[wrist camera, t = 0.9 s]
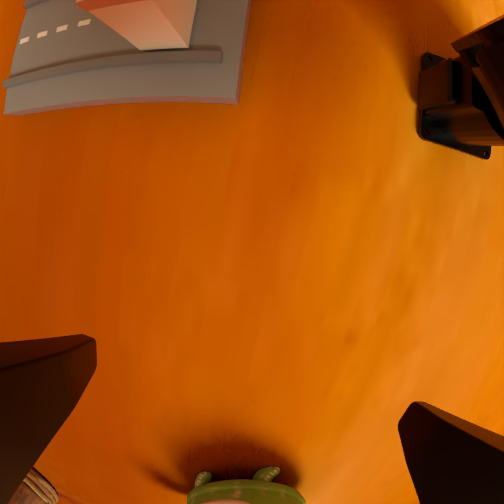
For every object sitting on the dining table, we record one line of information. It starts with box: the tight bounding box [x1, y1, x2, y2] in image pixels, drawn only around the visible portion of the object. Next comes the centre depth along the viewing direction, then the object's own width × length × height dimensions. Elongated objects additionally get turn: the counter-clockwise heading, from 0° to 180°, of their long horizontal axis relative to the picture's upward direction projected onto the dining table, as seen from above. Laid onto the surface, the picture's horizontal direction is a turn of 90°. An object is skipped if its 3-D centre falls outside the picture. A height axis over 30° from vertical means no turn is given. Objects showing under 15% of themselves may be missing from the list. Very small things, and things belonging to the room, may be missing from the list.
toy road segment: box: [2, 0, 252, 115], centre depth 15 cm, size 18×12×3 cm, turn 84°
